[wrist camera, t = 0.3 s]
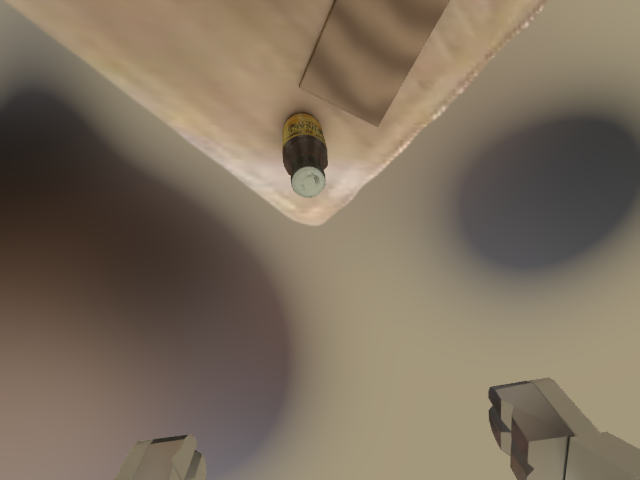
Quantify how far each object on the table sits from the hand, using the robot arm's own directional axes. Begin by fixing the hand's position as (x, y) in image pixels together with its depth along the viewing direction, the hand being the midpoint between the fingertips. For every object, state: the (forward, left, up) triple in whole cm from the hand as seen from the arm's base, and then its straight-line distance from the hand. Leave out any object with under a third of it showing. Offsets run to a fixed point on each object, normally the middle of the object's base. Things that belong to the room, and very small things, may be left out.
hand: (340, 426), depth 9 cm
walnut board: (-10, +10, -51) cm, 53 cm away
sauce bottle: (+6, +6, -51) cm, 52 cm away
